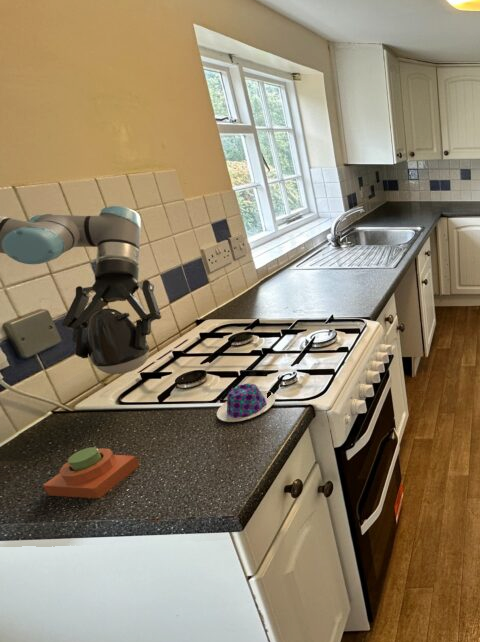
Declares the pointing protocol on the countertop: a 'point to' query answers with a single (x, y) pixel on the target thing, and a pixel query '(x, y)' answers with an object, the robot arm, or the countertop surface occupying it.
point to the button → (84, 458)
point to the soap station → (92, 476)
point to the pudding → (245, 403)
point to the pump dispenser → (114, 342)
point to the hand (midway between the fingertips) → (111, 352)
